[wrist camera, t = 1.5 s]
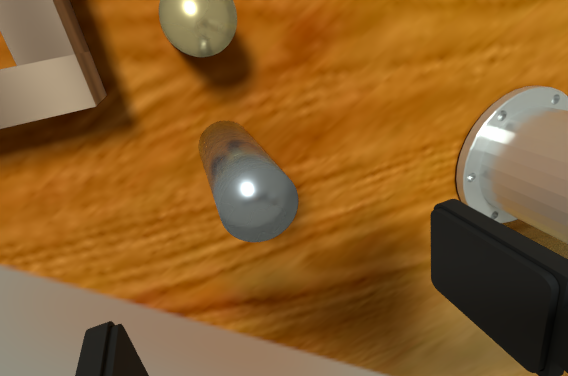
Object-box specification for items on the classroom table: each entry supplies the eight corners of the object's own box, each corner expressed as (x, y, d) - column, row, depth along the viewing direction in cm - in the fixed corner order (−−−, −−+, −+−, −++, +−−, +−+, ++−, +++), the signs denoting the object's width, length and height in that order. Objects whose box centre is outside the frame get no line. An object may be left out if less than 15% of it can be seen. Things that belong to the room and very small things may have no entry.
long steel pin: (244, 114, 25) (290, 158, 16) (256, 163, 26) (303, 227, 17) (192, 128, 24) (209, 181, 15) (206, 177, 25) (230, 252, 17)
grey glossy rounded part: (213, -19, 21) (226, -34, 17) (228, 46, 23) (244, 48, 18) (150, -8, 20) (147, -20, 16) (170, 59, 22) (173, 64, 18)
